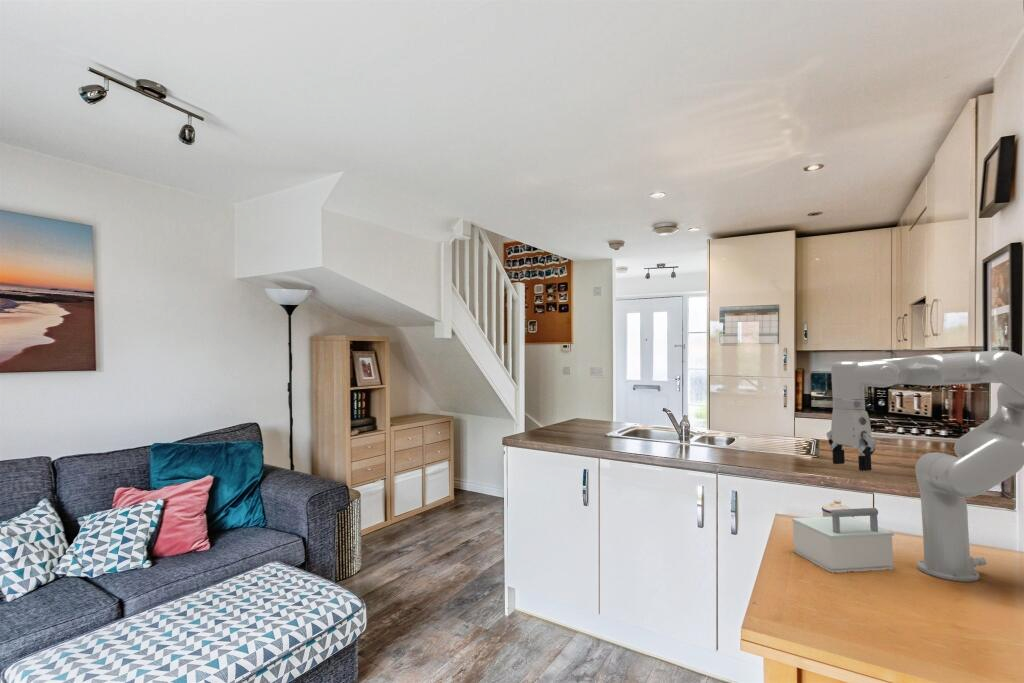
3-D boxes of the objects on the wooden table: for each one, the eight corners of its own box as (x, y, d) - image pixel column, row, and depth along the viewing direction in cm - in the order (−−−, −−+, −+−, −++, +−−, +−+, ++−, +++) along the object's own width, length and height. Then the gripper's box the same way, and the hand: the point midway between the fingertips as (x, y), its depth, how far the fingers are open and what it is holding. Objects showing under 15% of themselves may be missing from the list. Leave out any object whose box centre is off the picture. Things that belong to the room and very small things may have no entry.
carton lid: (848, 518, 156) (847, 495, 157) (893, 535, 140) (892, 509, 140) (792, 521, 154) (791, 497, 155) (830, 539, 138) (829, 512, 139)
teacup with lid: (854, 543, 161) (852, 505, 161) (820, 537, 166) (819, 501, 167) (857, 533, 170) (856, 497, 171) (826, 528, 176) (824, 493, 176)
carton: (849, 548, 156) (848, 518, 156) (893, 569, 140) (891, 535, 140) (794, 551, 154) (792, 521, 155) (831, 572, 138) (830, 538, 139)
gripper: (886, 407, 135) (889, 472, 134) (838, 402, 152) (841, 461, 151) (859, 407, 134) (863, 473, 133) (815, 403, 152) (817, 461, 151)
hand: (851, 467), depth 142 cm, fingers open, 9 cm apart
